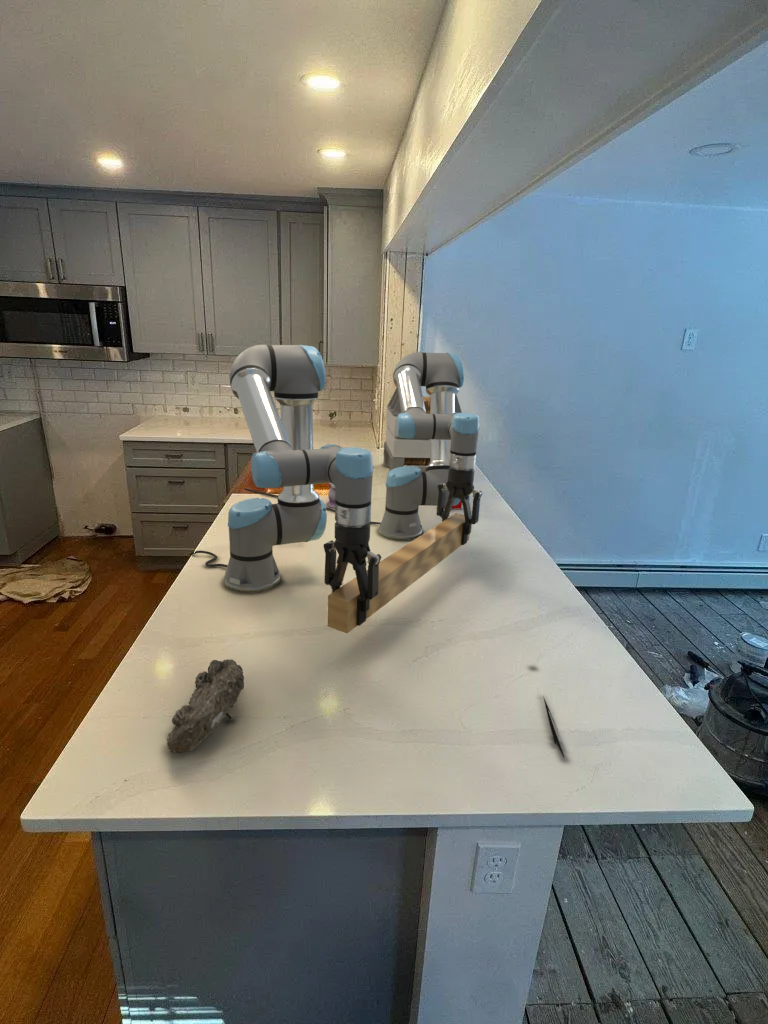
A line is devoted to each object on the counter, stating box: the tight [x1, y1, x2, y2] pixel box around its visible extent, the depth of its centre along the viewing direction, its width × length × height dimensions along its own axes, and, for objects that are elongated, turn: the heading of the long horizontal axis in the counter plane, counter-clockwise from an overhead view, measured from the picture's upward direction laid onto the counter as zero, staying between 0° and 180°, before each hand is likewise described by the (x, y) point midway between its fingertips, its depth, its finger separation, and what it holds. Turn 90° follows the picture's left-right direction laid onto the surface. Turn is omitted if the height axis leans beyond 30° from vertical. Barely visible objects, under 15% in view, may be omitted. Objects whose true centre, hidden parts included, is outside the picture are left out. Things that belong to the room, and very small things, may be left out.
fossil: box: [166, 658, 245, 754], centre depth 106 cm, size 22×10×15 cm
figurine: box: [327, 483, 335, 509], centre depth 223 cm, size 9×10×15 cm
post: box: [327, 512, 471, 635], centre depth 149 cm, size 66×5×8 cm, turn 149°
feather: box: [533, 666, 565, 758], centre depth 114 cm, size 2×28×2 cm
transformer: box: [383, 387, 463, 471], centre depth 268 cm, size 34×33×41 cm
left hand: (350, 618), depth 127 cm, fingers closed on post, 5 cm apart
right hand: (455, 541), depth 172 cm, fingers closed on post, 5 cm apart
